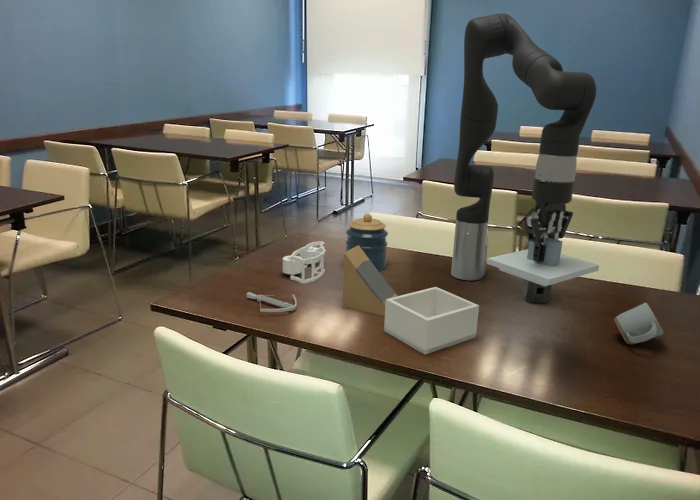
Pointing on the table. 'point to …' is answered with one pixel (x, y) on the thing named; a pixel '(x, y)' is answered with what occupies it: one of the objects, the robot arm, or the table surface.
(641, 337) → the ceramic mug
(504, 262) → the lid
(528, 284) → the handheld device
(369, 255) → the canister
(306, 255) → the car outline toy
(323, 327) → the table surface
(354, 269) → the sandwich container
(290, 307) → the crossbow
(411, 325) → the box
